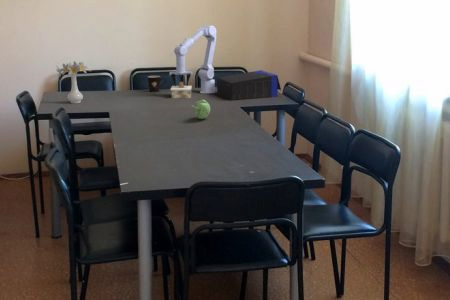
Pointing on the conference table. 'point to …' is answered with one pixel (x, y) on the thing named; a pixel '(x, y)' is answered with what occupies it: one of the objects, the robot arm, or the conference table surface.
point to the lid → (181, 87)
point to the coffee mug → (154, 83)
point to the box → (181, 94)
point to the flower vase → (73, 80)
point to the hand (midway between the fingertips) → (181, 85)
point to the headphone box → (248, 85)
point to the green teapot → (202, 109)
